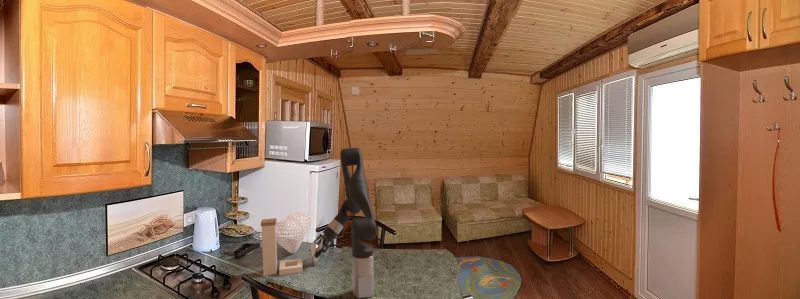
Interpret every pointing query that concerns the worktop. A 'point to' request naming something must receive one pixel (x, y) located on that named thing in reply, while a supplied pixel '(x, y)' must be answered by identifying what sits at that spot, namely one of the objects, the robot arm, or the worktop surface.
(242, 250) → the door handle
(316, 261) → the steel pin
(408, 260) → the worktop surface
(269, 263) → the slotted post
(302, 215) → the heart
